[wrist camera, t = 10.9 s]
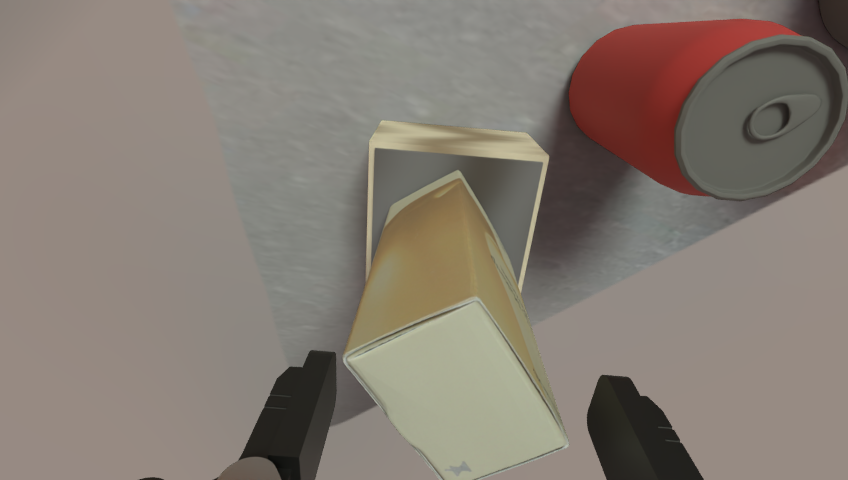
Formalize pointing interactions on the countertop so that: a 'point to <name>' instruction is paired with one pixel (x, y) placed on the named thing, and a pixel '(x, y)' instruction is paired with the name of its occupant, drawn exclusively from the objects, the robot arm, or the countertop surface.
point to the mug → (835, 19)
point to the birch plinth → (480, 166)
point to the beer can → (712, 103)
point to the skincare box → (452, 340)
